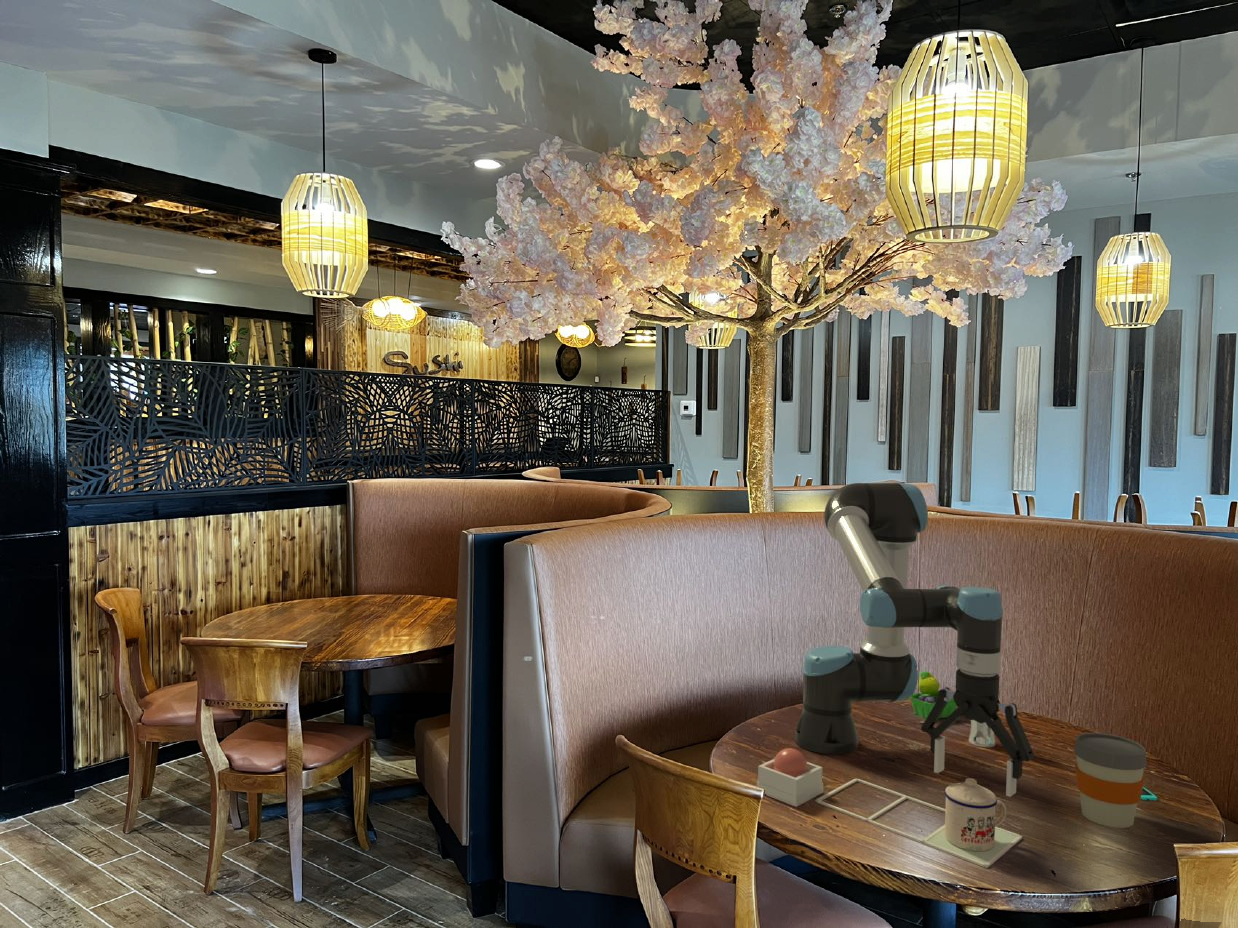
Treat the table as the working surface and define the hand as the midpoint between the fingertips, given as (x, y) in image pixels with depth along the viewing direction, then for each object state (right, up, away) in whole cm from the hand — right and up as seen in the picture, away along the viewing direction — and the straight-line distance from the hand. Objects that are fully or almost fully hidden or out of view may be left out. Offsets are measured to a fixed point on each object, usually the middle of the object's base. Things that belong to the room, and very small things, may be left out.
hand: (973, 782), depth 157 cm
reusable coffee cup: (+31, -11, +11) cm, 35 cm away
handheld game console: (+42, -11, +27) cm, 51 cm away
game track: (-8, -11, +9) cm, 16 cm away
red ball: (-31, -8, +20) cm, 38 cm away
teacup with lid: (0, -11, 0) cm, 11 cm away
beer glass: (+23, -10, +50) cm, 56 cm away
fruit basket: (+19, -9, +70) cm, 73 cm away
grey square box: (-31, -10, +21) cm, 38 cm away
